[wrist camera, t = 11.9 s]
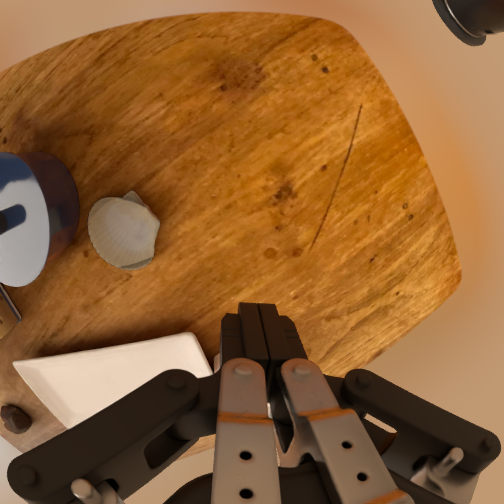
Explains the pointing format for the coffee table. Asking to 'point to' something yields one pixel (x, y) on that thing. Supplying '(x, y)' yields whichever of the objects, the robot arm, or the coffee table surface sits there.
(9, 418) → the dark brown rock
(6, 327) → the book
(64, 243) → the pot
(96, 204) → the seashell
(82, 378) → the white slab
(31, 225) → the pot lid
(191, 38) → the coffee table surface
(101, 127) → the coffee table surface
